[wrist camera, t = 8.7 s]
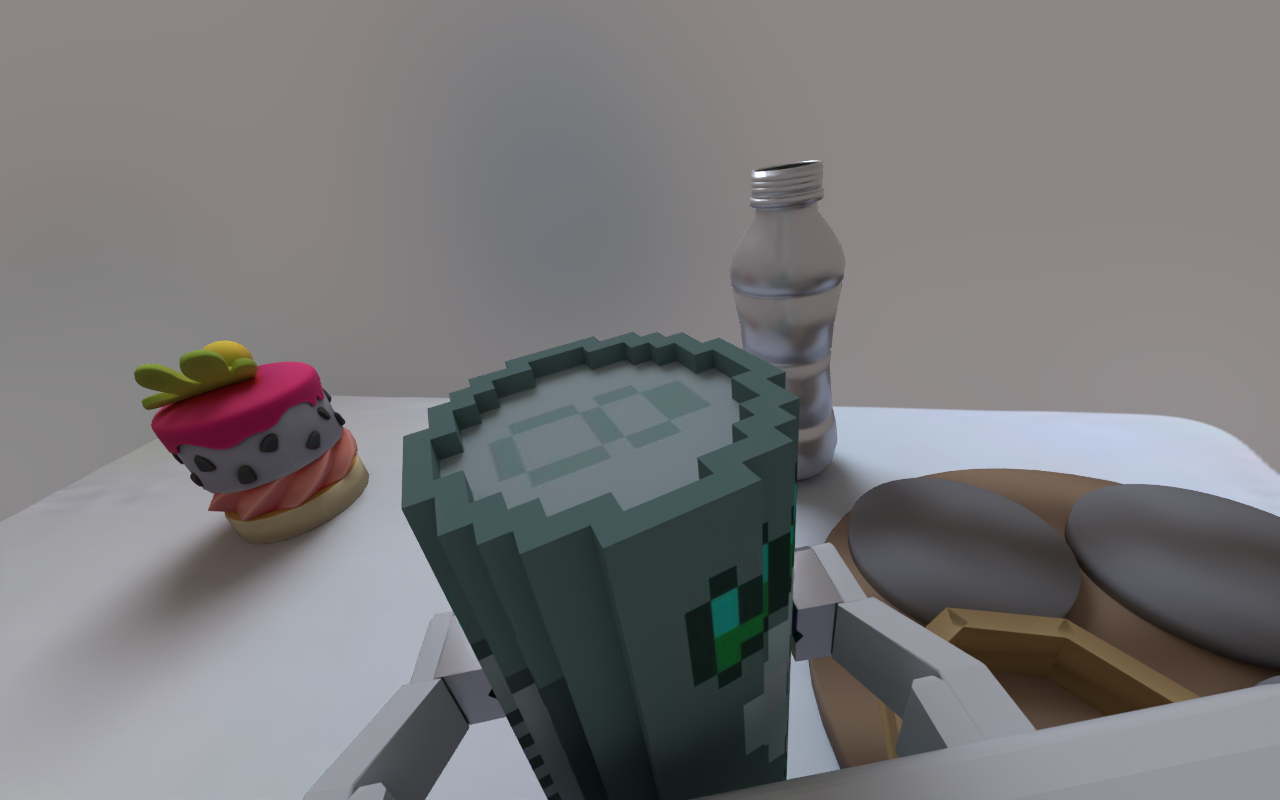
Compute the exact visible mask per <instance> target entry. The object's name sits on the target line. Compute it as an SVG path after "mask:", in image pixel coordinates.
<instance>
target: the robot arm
mask: <svg viewBox="0 0 1280 800" xmlns="http://www.w3.org/2000/svg"><path fill="white" fill-rule="evenodd" d="M791 652H792V655H793V657H794V659H795V662H796V661H802V660H808V659H814V658H821V657H827V656H832V658H833V659H834V660H835V661H836V662H837V663H838V664H840V665H841V666H842V667H843V668H844V669H845V670H846V671H848V672H849V673H850V674H851V675H852V676H853V677H854V678H856V679H857V680H858V681H859V682H860V683H861V684H862V685H864V686H865V687H866V688H867V689H868V690H869V691H870V692H872V693H873V694H874V695H875V696H876V697H877V698H878V699H880V700H881V701H882V702H883V703H884V704H885V705H886V706H888V707H889V708H890V709H891V710H892V711H893V712H894V713H896V714H897V715H898V716H899V717H900V718H901V719H902V720H903V721H902V725H901V729H900V732H899V736H898V740H897V744H896V748H895V751H896V753H897V755H898V757H899V758H895V759H890V760H885V761H880V762H875V763H870V764H865V765H860V766H855V767H850V768H845V769H840V770H835V771H830V772H825V773H820V774H815V775H810V776H805V777H800V778H795V779H790V780H785V781H780V782H775V783H770V784H764V785H759V786H754V787H749V788H744V789H739V790H734V791H729V792H724V793H719V794H714V795H709V796H704V797H699V798H694V799H689V800H1280V683H1279V684H1268V685H1260V686H1255V687H1250V688H1245V689H1241V690H1236V691H1231V692H1226V693H1221V694H1216V695H1211V696H1206V697H1201V698H1196V699H1191V700H1186V701H1181V702H1176V703H1171V704H1166V705H1161V706H1156V707H1151V708H1146V709H1141V710H1136V711H1131V712H1126V713H1121V714H1115V715H1110V716H1105V717H1100V718H1095V719H1090V720H1085V721H1080V722H1075V723H1070V724H1065V725H1060V726H1055V727H1050V728H1045V729H1040V730H1036V729H1035V728H1034V727H1033V725H1032V724H1031V723H1030V721H1029V720H1028V719H1027V718H1026V716H1025V715H1024V714H1023V713H1022V711H1021V710H1020V709H1019V707H1018V706H1017V705H1016V704H1015V702H1014V701H1013V700H1012V699H1011V697H1010V696H1009V695H1008V693H1007V692H1006V691H1005V690H1004V688H1003V687H1002V686H1001V685H1000V683H999V682H998V681H997V679H996V678H995V677H994V676H993V674H992V673H991V672H990V671H989V669H988V668H987V667H986V665H985V664H983V663H982V662H980V661H978V660H977V659H975V658H974V657H972V656H970V655H969V654H967V653H965V652H964V651H962V650H960V649H959V648H957V647H955V646H954V645H952V644H950V643H949V642H947V641H946V640H944V639H942V638H941V637H939V636H937V635H936V634H934V633H932V632H931V631H929V630H927V629H926V628H924V627H922V626H921V625H919V624H917V623H916V622H914V621H913V620H911V619H909V618H908V617H906V616H904V615H903V614H901V613H899V612H898V611H896V610H894V609H893V608H891V607H889V606H888V605H886V604H885V603H883V602H881V601H880V600H878V599H876V598H875V597H871V598H867V596H866V595H865V593H864V592H863V590H862V589H861V587H860V585H859V584H858V582H857V581H856V579H855V578H854V576H853V575H852V573H851V572H850V570H849V569H848V567H847V565H846V564H845V562H844V561H843V559H842V558H841V556H840V555H839V553H838V552H837V550H836V548H835V547H834V545H832V544H831V543H824V544H819V545H813V546H809V547H808V546H806V547H801V548H796V549H795V551H794V579H793V607H792V636H791ZM503 717H506V715H505V713H504V711H503V709H502V707H501V705H500V703H499V701H498V699H497V697H496V695H495V693H494V691H493V689H492V687H491V685H490V683H489V681H488V679H487V678H486V676H485V674H484V672H483V670H482V668H481V666H480V664H479V662H478V660H477V658H476V656H475V654H474V652H473V650H472V648H471V646H470V644H469V642H468V640H467V638H466V636H465V634H464V632H463V630H462V628H461V626H460V624H459V622H458V620H457V618H456V616H455V614H454V612H453V611H452V612H446V613H440V614H435V615H434V617H433V618H432V619H431V621H430V623H429V626H428V629H427V632H426V635H425V638H424V641H423V644H422V647H421V650H420V653H419V656H418V659H417V663H416V666H415V669H414V672H413V675H412V678H411V681H410V684H407V685H403V686H402V687H401V688H400V689H399V690H398V691H397V692H396V694H395V695H394V696H393V697H392V698H391V699H390V700H389V701H388V703H387V704H386V705H385V706H384V707H383V708H382V709H381V710H380V711H379V713H378V714H377V715H376V716H375V717H374V718H373V719H372V720H371V722H370V723H369V724H368V725H367V726H366V727H365V728H364V729H363V731H362V732H361V733H360V734H359V735H358V736H357V737H356V738H355V739H354V741H353V742H352V743H351V744H350V745H349V746H348V747H347V748H346V750H345V751H344V752H343V753H342V754H341V755H340V756H339V757H338V758H337V760H336V761H335V762H334V763H333V764H332V765H331V766H330V767H329V769H328V770H327V771H326V772H325V773H324V774H323V775H322V776H321V777H320V779H319V780H318V781H317V782H316V783H315V784H314V785H313V786H312V788H311V789H310V790H309V791H308V792H307V793H306V794H305V796H304V798H303V800H425V799H426V797H427V796H428V794H429V792H430V791H431V789H432V787H433V786H434V784H435V783H436V781H437V779H438V778H439V776H440V774H441V773H442V771H443V770H444V768H445V766H446V765H447V763H448V761H449V760H450V758H451V757H452V755H453V753H454V752H455V750H456V749H457V747H458V745H459V744H460V742H461V740H462V739H463V737H464V736H465V734H466V732H467V731H468V729H469V725H472V724H476V723H481V722H485V721H490V720H494V719H499V718H503Z"/></svg>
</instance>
